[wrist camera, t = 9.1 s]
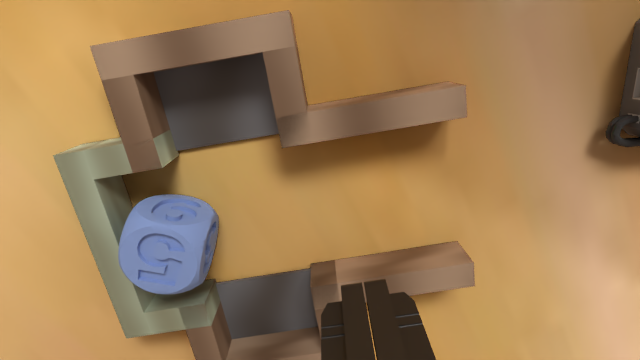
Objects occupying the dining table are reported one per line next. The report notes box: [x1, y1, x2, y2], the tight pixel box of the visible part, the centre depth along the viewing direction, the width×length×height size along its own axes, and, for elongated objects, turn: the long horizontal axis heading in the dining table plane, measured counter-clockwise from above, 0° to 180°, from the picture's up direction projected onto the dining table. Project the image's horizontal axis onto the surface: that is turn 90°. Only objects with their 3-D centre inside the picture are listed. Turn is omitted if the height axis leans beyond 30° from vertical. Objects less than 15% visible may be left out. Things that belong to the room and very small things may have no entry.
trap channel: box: [53, 10, 475, 360], centre depth 21 cm, size 20×20×2 cm
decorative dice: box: [118, 194, 219, 294], centre depth 21 cm, size 4×4×4 cm
